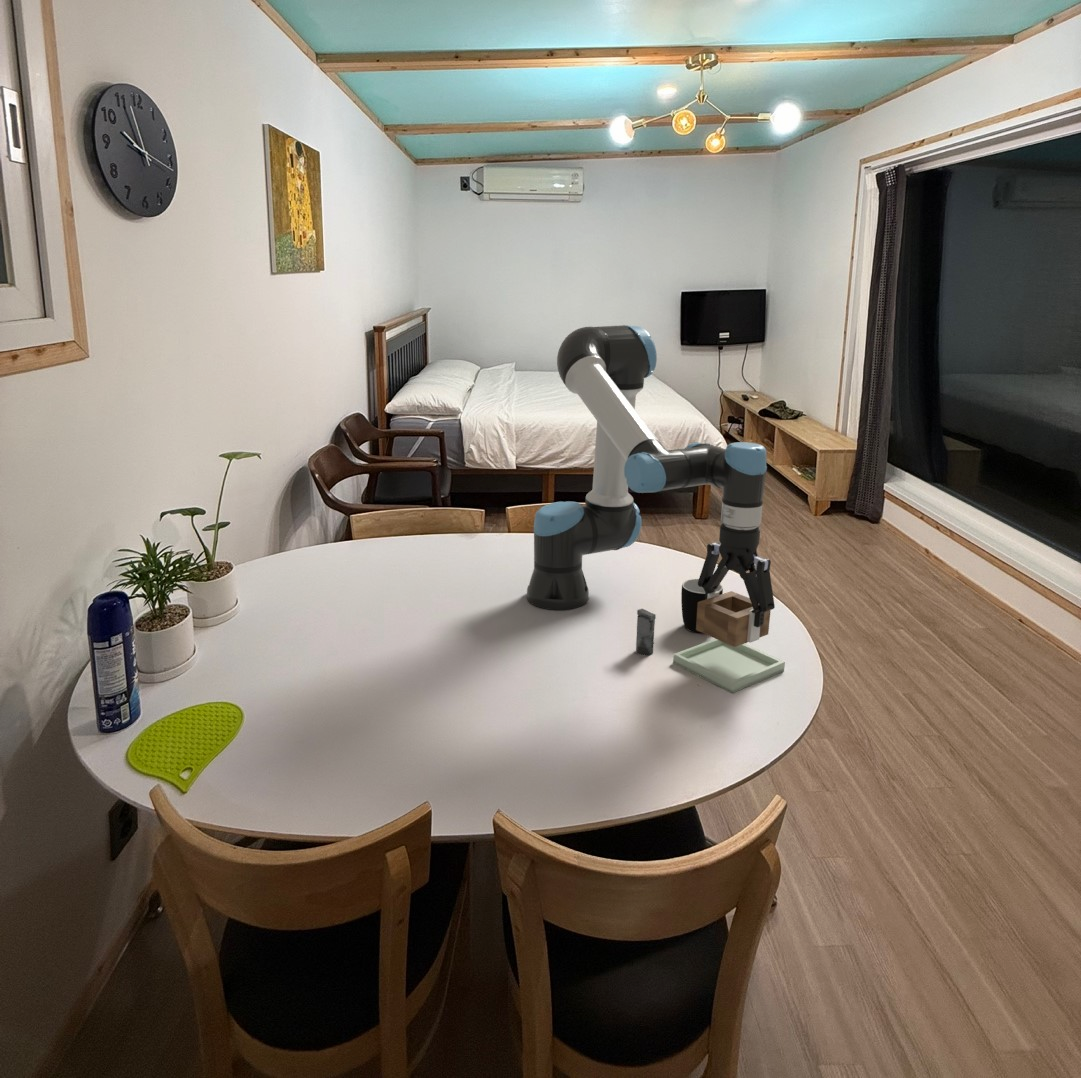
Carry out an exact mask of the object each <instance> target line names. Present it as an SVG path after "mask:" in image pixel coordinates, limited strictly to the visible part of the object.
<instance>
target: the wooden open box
mask: <svg viewBox="0 0 1081 1078" xmlns="http://www.w3.org/2000/svg"><path fill="white" fill-rule="evenodd" d="M750 610H753V606H752V604H751V601H750V598H749V596H748V597H747V596H746V595H743V594H740V593H738V592H735V591H727V592H725V593H724V592H723V594H721V595H718V596H715V597H712V598H709V599H706V600H703V601H700V602H698V606H697V621H696V630H698V631H700V632H702V633H701V634H705V635H706V636H709V637H711V638H713V639H717V640H720V641H722V642H724V643H726V644H728V645H731V646H733V647H737V646H739V645H742V644H747V643H748V642H747V636H748V625H749V613H750ZM771 611H772V610H769V611H766V612H765V613H764V624H763V626H761V627H760V635H759V639H760V638H762V637H764V636H767V635H769V631H770V622H771V621H770V620H771Z"/></svg>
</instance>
